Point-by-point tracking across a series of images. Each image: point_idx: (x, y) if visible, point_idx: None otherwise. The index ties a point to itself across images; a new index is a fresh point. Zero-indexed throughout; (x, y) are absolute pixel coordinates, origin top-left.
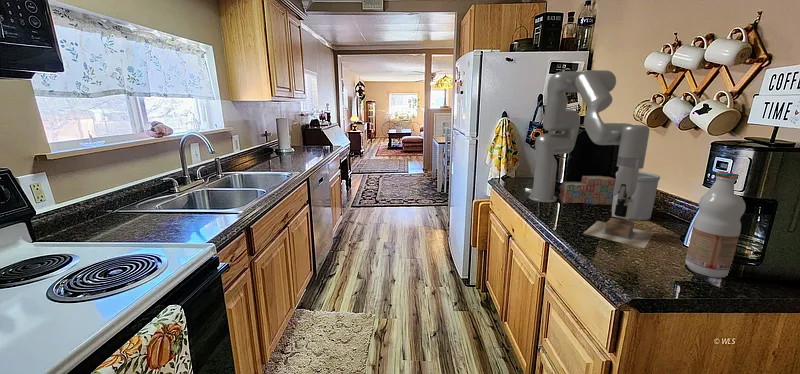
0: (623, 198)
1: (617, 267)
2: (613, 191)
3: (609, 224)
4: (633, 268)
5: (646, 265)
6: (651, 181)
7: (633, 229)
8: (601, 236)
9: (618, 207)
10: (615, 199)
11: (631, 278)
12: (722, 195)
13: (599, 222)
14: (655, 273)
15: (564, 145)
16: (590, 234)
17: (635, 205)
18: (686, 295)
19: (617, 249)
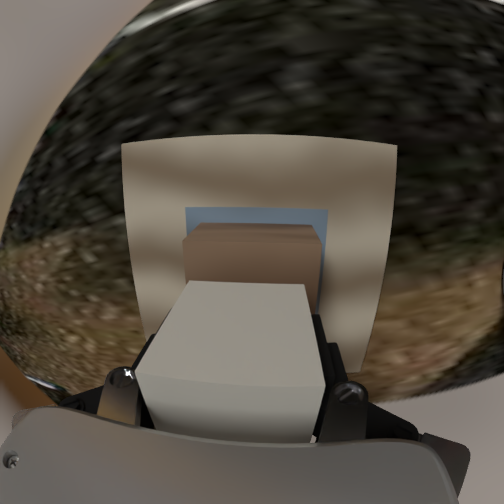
0: (284, 427)
1: (18, 302)
2: (18, 428)
3: (185, 256)
4: (39, 331)
5: (73, 355)
6: None
7: (360, 314)
8: (143, 222)
9: (136, 365)
10: (161, 381)
11: (10, 326)
12: None
13: (375, 158)
14: (57, 365)
15: None
16: (131, 176)
17: None
18: (39, 388)
19: (100, 291)
